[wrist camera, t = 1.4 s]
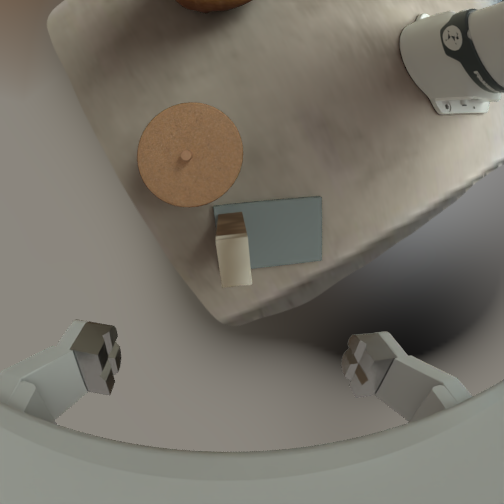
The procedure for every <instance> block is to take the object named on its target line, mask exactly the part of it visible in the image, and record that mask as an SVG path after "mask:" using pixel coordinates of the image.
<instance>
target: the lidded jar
mask: <svg viewBox="0 0 504 504" xmlns="http://www.w3.org/2000/svg"><path fill="white" fill-rule="evenodd" d="M242 161H243V145H242V141H241V137H240V134H239V132H238V130H237V128H236V126H235V125H234V123H233V122H232V121H231V120H230V119H229V117H228V116H226V115H225V114H224V113H223V112H221V111H220V110H218V109H216V108H215V107H212V106H209V105H207V104H202V103H190V102H189V103H181V104H178V105H174V106H172V107H169V108H167V109H165V110H164V111H162V112H161V113H159V114H158V115H157V116H156V117H154V118H153V119H152V120H151V122H150V123H149V124H148V125H147V127H146V128H145V130H144V132H143V134H142V136H141V139H140V141H139V145H138V151H137V162H138V168H139V172H140V175H141V177H142V179H143V181H144V183H145V184H146V186H147V188H148V189H149V190H150V191H151V192H152V193H153V194H154V195H155V196H157V197H158V198H159V199H161V200H163V201H164V202H166V203H169V204H171V205H174V206H179V207H198V206H202V205H206V204H208V203H210V202H213V201H215V200H216V199H218V198H219V197H221V196H222V195H223V194H224V193H226V192H227V191H228V190H229V188H230V187H231V186H232V185H233V183H234V182H235V180H236V179H237V177H238V174H239V172H240V169H241V165H242Z"/></svg>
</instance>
